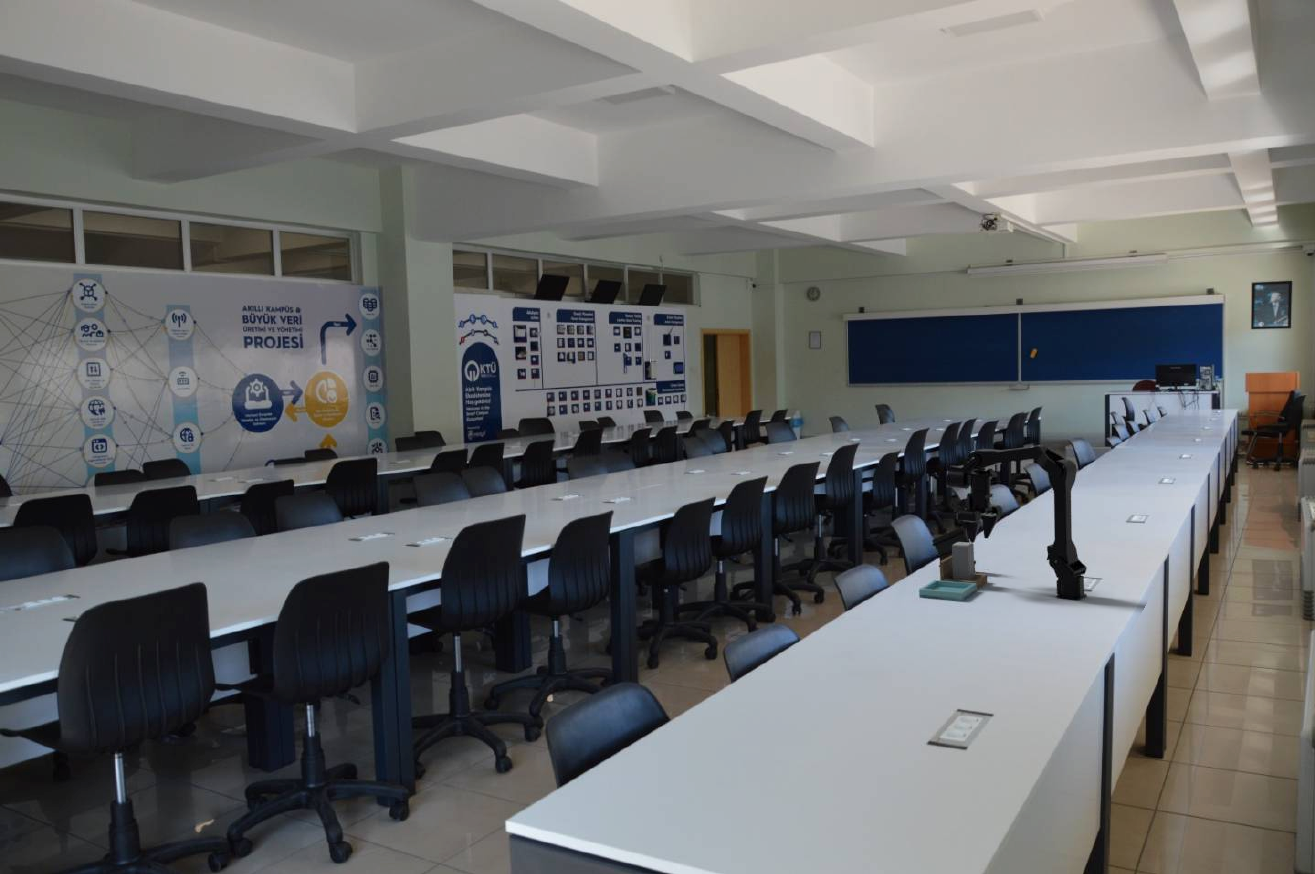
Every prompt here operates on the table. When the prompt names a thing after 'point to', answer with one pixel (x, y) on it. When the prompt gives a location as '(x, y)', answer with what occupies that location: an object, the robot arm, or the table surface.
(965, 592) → the teal tray
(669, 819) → the table surface
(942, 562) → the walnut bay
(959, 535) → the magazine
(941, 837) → the table surface
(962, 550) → the grey lidded box
